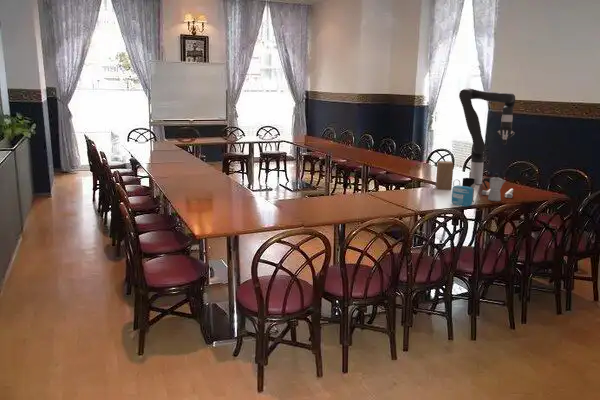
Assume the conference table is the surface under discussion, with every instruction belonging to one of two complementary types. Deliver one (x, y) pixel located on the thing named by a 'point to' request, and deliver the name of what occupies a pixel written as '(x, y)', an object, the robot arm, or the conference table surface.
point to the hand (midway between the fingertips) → (504, 144)
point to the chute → (507, 194)
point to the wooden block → (444, 175)
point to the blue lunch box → (468, 184)
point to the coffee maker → (494, 187)
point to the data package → (462, 195)
